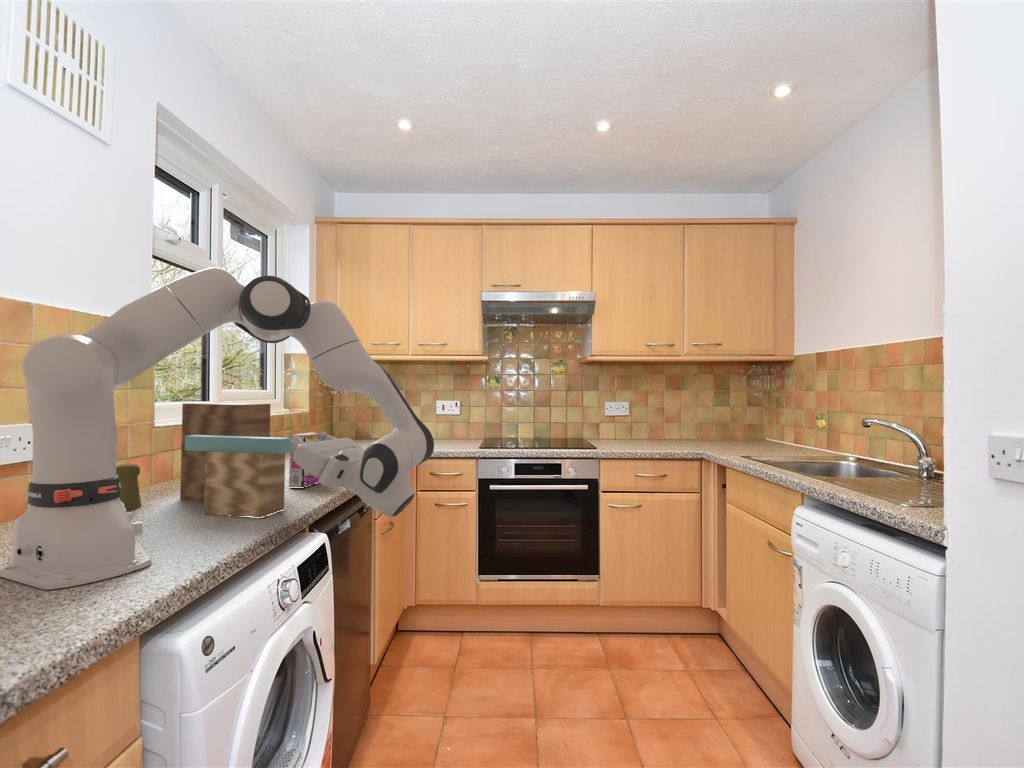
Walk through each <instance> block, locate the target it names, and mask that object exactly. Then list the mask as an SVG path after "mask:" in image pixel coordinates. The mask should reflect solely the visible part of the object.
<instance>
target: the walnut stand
mask: <svg viewBox="0 0 1024 768" xmlns="http://www.w3.org/2000/svg"><path fill="white" fill-rule="evenodd" d="M181 408H182V411H181V415H182V417H181V418H182V419H181V448H180V449H181V451H180V452H181V455H180V494H179V496H180V497H179V498H180V499H179V500H182V501H183V500H186V501H196V502H204V486H205V452H207V451H190V450H185V436H190V435H218V436H250V437H271V403H254V402H253V403H251V402H250V403H247V402H195V403H194V402H188V403H187V402H186V403H182V407H181Z"/></svg>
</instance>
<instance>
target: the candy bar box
mask: <svg viewBox="0 0 1024 768" xmlns="http://www.w3.org/2000/svg"><path fill="white" fill-rule="evenodd" d="M317 434H318V432H305V433H297V434H291V435H290V438H292V436H293V435H299V436H301V437H302V438H303V439H302V440H303V442H306V443H313V442H320V440H319V439H317V438H316V436H317ZM295 450H296V446H295V445H294V444H293V443H292V442H291V452H289V474H288V475H289V477H288V480H289V481H288V488H289V487H306V486H309V485H312V484H315V483H317V482H318V480H319V477H315V476H313V475H311V474H309V473H308V472H307V471H305V470H304V469H303V468H301V467H300V466H299V465H298V464H296V463H295V462H294V460H293V454H294V452H295Z"/></svg>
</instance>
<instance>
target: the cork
mask: <svg viewBox="0 0 1024 768" xmlns="http://www.w3.org/2000/svg"><path fill="white" fill-rule="evenodd" d="M140 473H141V466H140V465H139V464H137V463H123V464H119V465H116V475H118V476H119V482H120V485H121V488H120V491H121V496H120V497H119V499H120V501H121V502H122V503H124V507H125V509H126V510H127V511H132V510H131V509H133V510H137V509H136V508H138V509H140V508H139V507H141V508H142V501H141V495H140V487H139V478H138V476H139V475H140Z"/></svg>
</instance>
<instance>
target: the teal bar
mask: <svg viewBox="0 0 1024 768" xmlns="http://www.w3.org/2000/svg"><path fill="white" fill-rule="evenodd" d="M290 439H291V437H278V436H276V437H275V436H270V437H250V436H218V435H190V436H185V450H190V451H217V452H244V453H271V454H284V453H285V454H288V453H289V454H290V452H291V441H290Z"/></svg>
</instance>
